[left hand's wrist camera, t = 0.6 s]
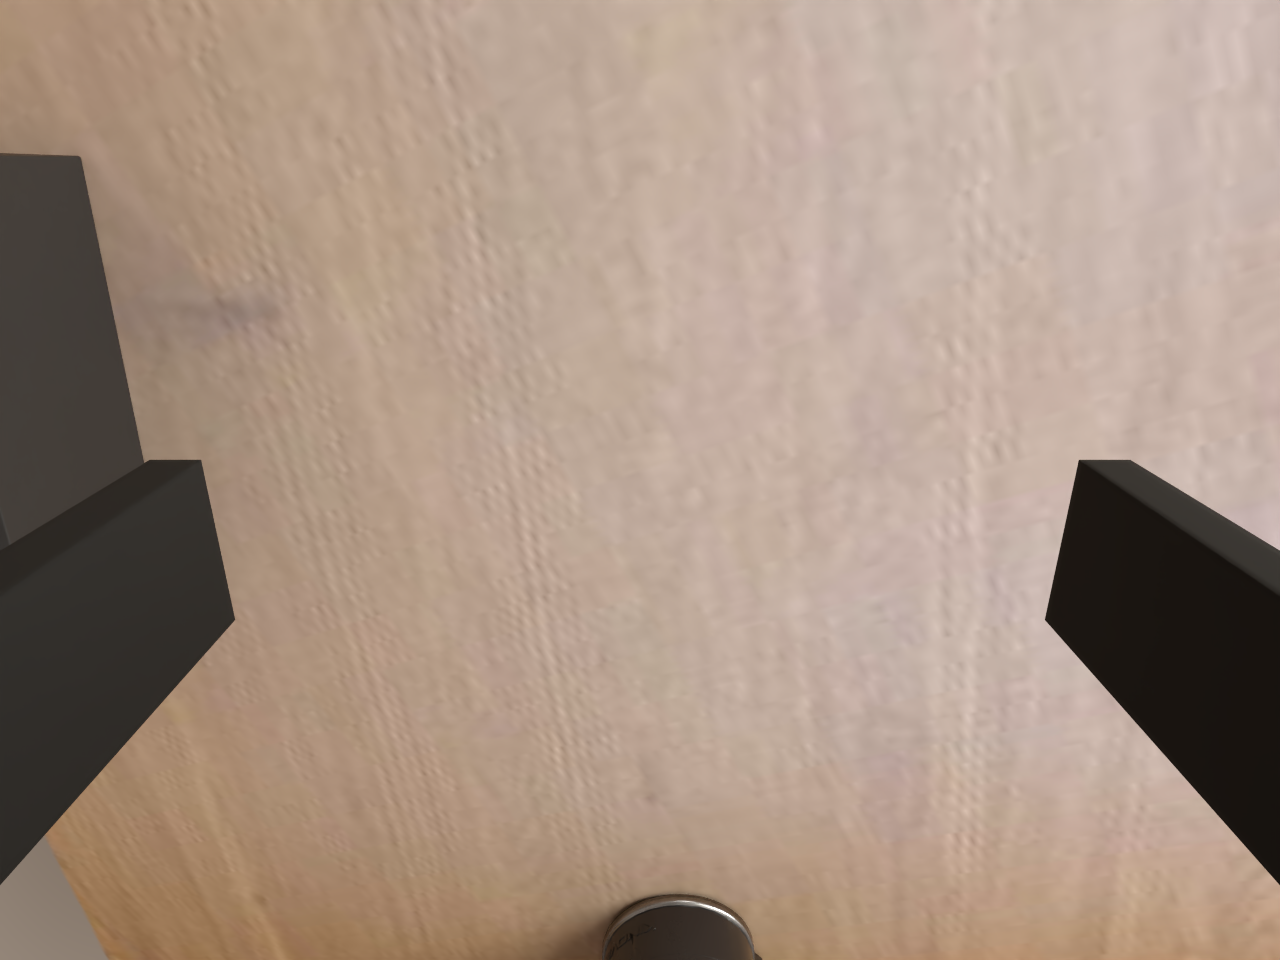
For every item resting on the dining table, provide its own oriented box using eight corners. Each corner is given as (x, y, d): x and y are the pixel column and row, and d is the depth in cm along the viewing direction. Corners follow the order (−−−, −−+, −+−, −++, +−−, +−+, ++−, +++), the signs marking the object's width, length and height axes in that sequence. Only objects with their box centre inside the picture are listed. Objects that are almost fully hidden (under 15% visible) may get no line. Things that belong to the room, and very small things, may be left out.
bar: (-41, 152, 34) (-263, 148, 25) (81, 155, 34) (-101, 154, 25) (79, 617, 42) (-58, 729, 34) (177, 620, 42) (63, 732, 34)
